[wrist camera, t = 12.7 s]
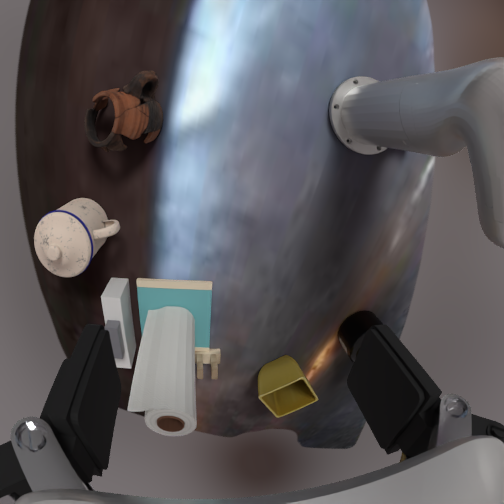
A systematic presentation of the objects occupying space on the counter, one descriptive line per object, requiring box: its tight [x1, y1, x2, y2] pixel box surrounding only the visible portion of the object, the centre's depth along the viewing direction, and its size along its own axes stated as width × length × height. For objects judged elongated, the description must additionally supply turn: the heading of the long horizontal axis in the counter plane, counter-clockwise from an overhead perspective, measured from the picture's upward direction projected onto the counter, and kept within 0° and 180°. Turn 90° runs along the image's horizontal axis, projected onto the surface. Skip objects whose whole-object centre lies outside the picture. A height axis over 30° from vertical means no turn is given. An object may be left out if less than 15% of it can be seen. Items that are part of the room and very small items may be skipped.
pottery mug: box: [84, 71, 163, 152], centre depth 33 cm, size 12×10×8 cm
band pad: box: [137, 278, 212, 351], centre depth 48 cm, size 12×14×1 cm
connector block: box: [101, 278, 136, 369], centre depth 43 cm, size 3×14×8 cm, turn 174°
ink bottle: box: [338, 311, 383, 362], centre depth 50 cm, size 10×9×12 cm
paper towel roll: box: [127, 306, 197, 437], centre depth 38 cm, size 7×6×21 cm
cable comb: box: [195, 349, 221, 379], centre depth 49 cm, size 10×2×6 cm, turn 84°
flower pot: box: [258, 355, 318, 418], centre depth 52 cm, size 9×9×9 cm
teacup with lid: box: [34, 198, 120, 277], centre depth 35 cm, size 12×9×12 cm
